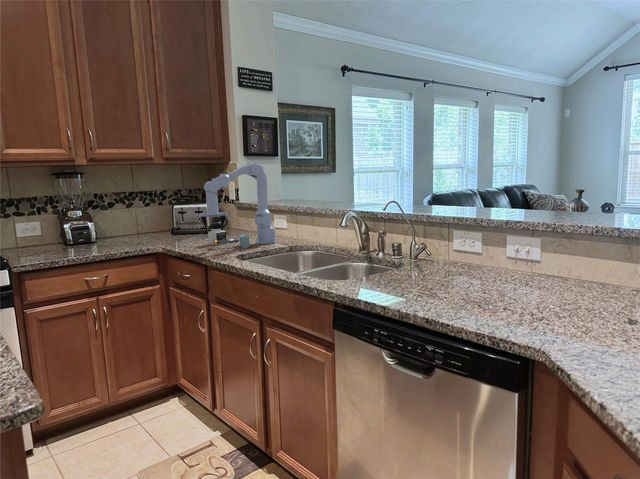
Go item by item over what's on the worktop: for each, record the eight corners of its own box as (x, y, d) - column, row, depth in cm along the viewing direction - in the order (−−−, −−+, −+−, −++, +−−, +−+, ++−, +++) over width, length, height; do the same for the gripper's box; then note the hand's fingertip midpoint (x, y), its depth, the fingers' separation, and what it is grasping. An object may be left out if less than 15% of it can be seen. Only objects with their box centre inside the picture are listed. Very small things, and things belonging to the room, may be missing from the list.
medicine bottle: (217, 245, 254) (215, 223, 252) (208, 244, 258) (207, 223, 256) (227, 243, 259) (225, 222, 257) (218, 242, 264) (217, 221, 261)
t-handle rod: (238, 241, 252) (237, 236, 251) (239, 244, 243) (239, 239, 243) (212, 243, 248) (212, 238, 248) (213, 246, 240) (212, 241, 239)
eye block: (247, 244, 254) (246, 234, 253) (249, 247, 244) (249, 237, 243) (240, 244, 253) (239, 234, 252) (242, 248, 243) (241, 237, 242)
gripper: (226, 203, 244) (227, 228, 246) (197, 204, 240) (199, 230, 242) (227, 204, 237) (228, 230, 239) (197, 206, 233) (199, 232, 235)
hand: (214, 230), depth 240 cm, fingers open, 7 cm apart
